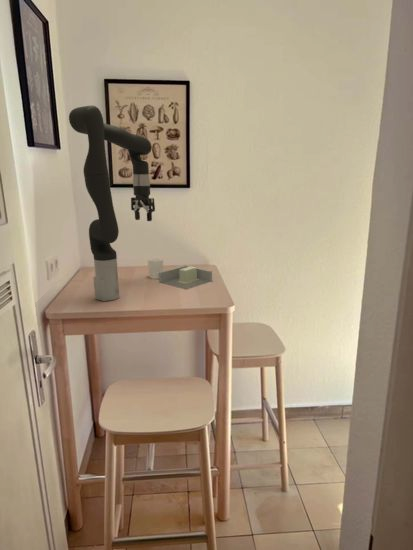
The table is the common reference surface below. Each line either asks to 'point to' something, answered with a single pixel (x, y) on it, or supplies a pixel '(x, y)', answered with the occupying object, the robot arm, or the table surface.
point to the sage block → (188, 274)
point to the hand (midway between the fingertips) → (143, 220)
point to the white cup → (155, 267)
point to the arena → (173, 279)
